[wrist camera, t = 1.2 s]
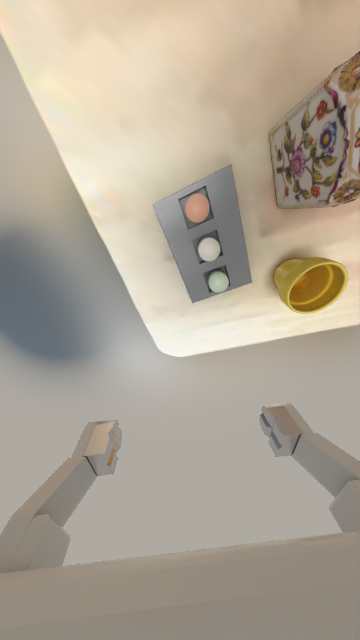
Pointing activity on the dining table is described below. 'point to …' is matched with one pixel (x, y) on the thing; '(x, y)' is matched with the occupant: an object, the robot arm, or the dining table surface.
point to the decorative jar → (320, 144)
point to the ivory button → (208, 248)
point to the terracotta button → (197, 208)
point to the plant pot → (310, 283)
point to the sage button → (218, 281)
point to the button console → (206, 234)
